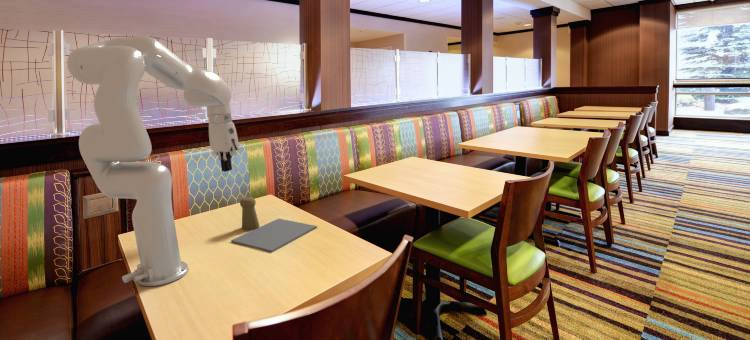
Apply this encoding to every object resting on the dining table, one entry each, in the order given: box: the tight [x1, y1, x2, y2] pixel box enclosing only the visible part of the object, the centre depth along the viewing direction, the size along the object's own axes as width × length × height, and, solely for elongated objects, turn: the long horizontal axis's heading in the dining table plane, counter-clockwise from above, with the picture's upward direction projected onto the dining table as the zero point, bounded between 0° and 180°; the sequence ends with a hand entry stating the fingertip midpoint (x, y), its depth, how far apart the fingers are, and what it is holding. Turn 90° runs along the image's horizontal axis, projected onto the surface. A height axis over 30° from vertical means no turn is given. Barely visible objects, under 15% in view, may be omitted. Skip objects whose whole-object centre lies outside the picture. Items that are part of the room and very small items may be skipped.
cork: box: [239, 196, 260, 232], centre depth 140 cm, size 6×6×11 cm
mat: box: [230, 218, 318, 253], centre depth 134 cm, size 22×18×1 cm
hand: (227, 170), depth 142 cm, fingers closed
